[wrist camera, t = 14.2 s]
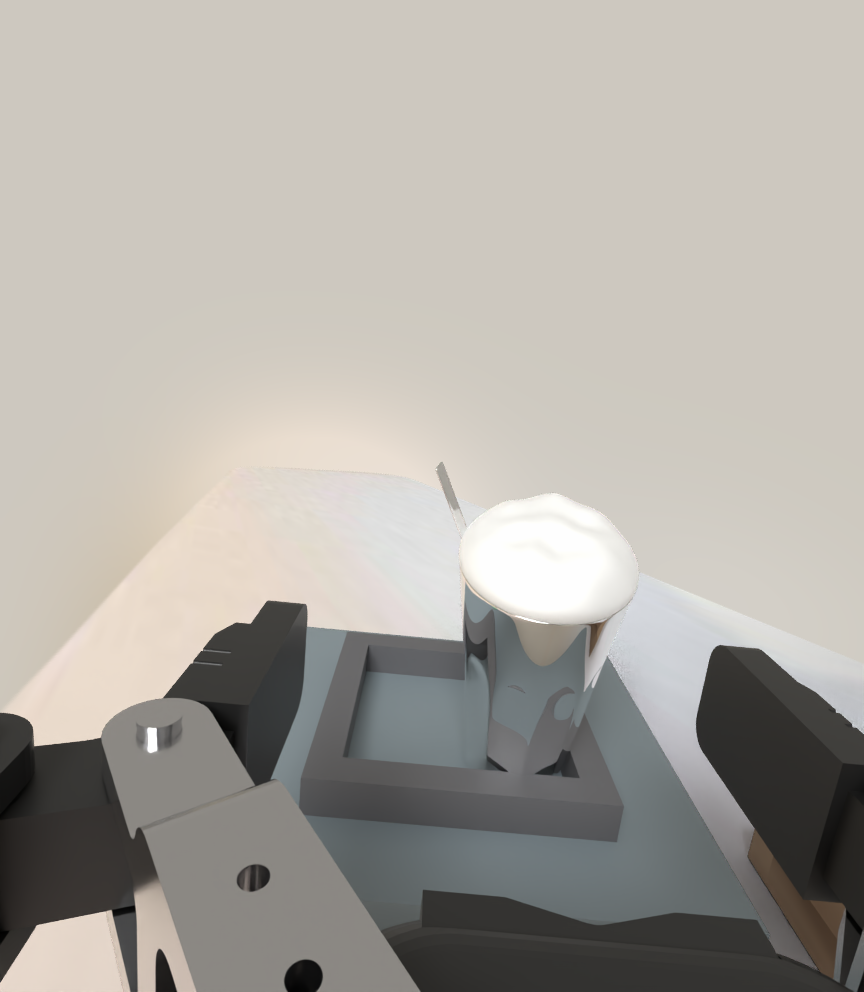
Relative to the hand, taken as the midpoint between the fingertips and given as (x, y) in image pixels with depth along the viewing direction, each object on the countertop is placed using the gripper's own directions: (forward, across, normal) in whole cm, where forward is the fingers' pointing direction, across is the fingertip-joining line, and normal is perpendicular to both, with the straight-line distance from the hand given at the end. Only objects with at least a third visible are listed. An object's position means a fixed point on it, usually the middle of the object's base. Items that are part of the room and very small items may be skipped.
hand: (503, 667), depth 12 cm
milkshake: (+7, -2, +7) cm, 10 cm away
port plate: (+8, 0, +8) cm, 11 cm away
